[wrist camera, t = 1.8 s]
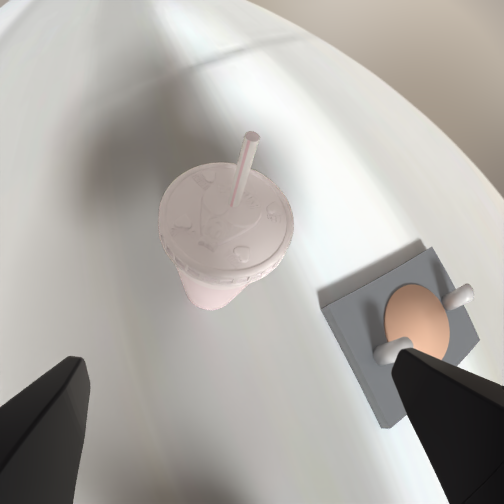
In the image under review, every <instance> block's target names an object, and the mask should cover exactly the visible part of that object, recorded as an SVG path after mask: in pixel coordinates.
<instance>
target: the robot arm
mask: <svg viewBox="0 0 504 504" xmlns="http://www.w3.org/2000/svg"><path fill="white" fill-rule="evenodd" d="M391 376H392V379H393V381H394V384H395V386H396V389H397V391H398V394H399V396H400V399H401V401H402V404H403V406H404V409H405V411H406V414H407V416H408V418H409V420H410V422H411V424H412V426H413V428H414V430H415V432H416V434H417V436H418V438H419V440H420V442H421V444H422V446H423V448H424V450H425V452H426V454H427V456H428V458H429V460H430V462H431V465H432V467H433V469H434V471H435V473H436V475H437V477H438V479H439V482H440V484H441V486H442V488H443V490H444V493H445V495H446V497H447V499H448V502H449V504H504V386H501V385H500V384H497V383H495V382H492V381H490V380H487V379H485V378H483V377H480V376H478V375H475V374H473V373H471V372H468V371H466V370H464V369H461V368H459V367H456V366H454V365H452V364H449V363H447V362H445V361H442V360H440V359H438V358H435V357H433V356H431V355H428V354H426V353H424V352H421V351H419V350H417V349H415V348H404V349H401V350H400V351H399V353H398V355H397V357H396V360H395V362H394V365H393V367H392V370H391ZM89 395H90V380H89V376H88V372H87V368H86V363H85V361H84V359H83V358H82V357H75V356H68V357H67V358H65V359H64V360H63V361H61V362H60V363H58V364H57V365H56V366H54V367H53V368H52V369H50V370H49V371H48V372H46V373H45V374H44V375H42V376H41V377H40V378H38V379H37V380H36V381H34V382H33V383H32V384H30V385H29V386H28V387H26V388H25V389H24V390H22V391H21V392H20V393H18V394H17V395H16V396H14V397H13V398H12V399H10V400H9V401H8V402H6V403H5V404H4V405H2V406H1V407H0V504H73V499H74V492H75V486H76V480H77V474H78V469H79V463H80V458H81V453H82V448H83V444H84V438H85V430H86V420H87V411H88V403H89Z"/></svg>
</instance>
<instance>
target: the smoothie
mask: <svg viewBox="0 0 504 504" xmlns="http://www.w3.org/2000/svg"><path fill="white" fill-rule="evenodd" d="M259 140H260V136H259V135H258V134H257V133H256V132H252V131H249V132H246V133H245V136H244V140H243V144H242V147H241V151H240V155H239V159H238V163H237V164H234V163H225V162H217V163H208V164H203V165H200V166H196V167H194V168H191V169H189V170H187V171H186V172H184V173H182V174H181V175H180V176H178V177H177V178H176V179H175V180H174V181H173V182H172V183H171V184H170V185H169V187H168V188H167V189H166V191H165V193H164V195H163V197H162V199H161V203H160V207H159V219H158V229H159V238H160V241H161V243H162V245H163V248H164V250H165V253H166V254H167V255H168V257H169V258H170V259H171V260H172V262H173V263H174V264H175V265H176V267H177V270H178V273H179V275H180V278H181V281H182V284H183V286H184V289H185V292H186V294H187V297H188V298H189V300H190V301H191V302H192V303H193V304H194V305H196V306H197V307H199V308H202V309H205V310H217V309H220V308H222V307H224V306H226V305H227V304H228V303H229V302H230V301H231V300H232V299H233V298H235V297H236V296H237V295H238V294H239V293H240V292H241V291H242V290H243V289H244V288H245V287H246V286H247V285H248V284H250V283H252V282H254V281H257V280H259V279H261V278H264V277H265V276H266V275H267V274H269V273H270V272H271V271H272V270H274V269H275V268H276V267H277V266H278V264H279V263H280V261H281V260H282V258H283V257H284V255H285V254H286V250H287V249H288V247H289V245H290V242H291V239H292V235H293V229H294V222H293V215H292V211H291V207H290V205H289V203H288V201H287V199H286V197H285V195H284V194H283V192H282V191H281V190H280V189H279V187H278V186H277V185H276V184H275V183H274V182H272V181H271V180H270V179H269V178H267V177H266V176H265V175H263V174H261V173H260V172H258V171H256V170H254V169H251V165H252V162H253V159H254V156H255V152H256V149H257V146H258V143H259Z"/></svg>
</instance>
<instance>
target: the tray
mask: <svg viewBox="0 0 504 504" xmlns="http://www.w3.org/2000/svg"><path fill="white" fill-rule="evenodd" d="M473 299H474V291H473V288H472V287H471V285H469V284H465V285H463V286H461V287H459V288H457V289H455V287H454V285H453V283H452V281H451V279H450V278H449V276H448V274H447V272H446V270H445V268H444V267H443V265H442V263H441V261H440V260H439V258H438V256H437V254H436V253H435V251H434V249H433V248H432V247H430V248H429V249H427V250H426V251H424V252H422V253H421V254H419V255H417V256H416V257H414V258H412V259H411V260H409V261H407V262H405V263H404V264H402V265H400V266H399V267H397V268H395V269H393V270H392V271H390V272H388V273H386V274H385V275H383V276H381V277H379V278H377V279H376V280H374V281H372V282H370V283H368V284H367V285H365V286H363V287H361V288H359V289H357V290H356V291H354V292H352V293H350V294H348V295H346V296H344V297H342V298H340V299H339V300H337V301H335V302H333V303H331V304H329V305H327V306H326V307H324V308H323V309H321V311H322V313H323V314H324V316H325V318H326V320H327V322H328V324H329V326H330V328H331V330H332V331H333V333H334V335H335V337H336V339H337V341H338V343H339V345H340V347H341V349H342V351H343V353H344V355H345V356H346V358H347V360H348V362H349V364H350V366H351V368H352V370H353V372H354V374H355V376H356V378H357V380H358V382H359V384H360V386H361V388H362V390H363V392H364V394H365V396H366V398H367V400H368V402H369V404H370V406H371V408H372V410H373V412H374V414H375V416H376V418H377V420H378V422H379V424H380V426H381V428H391V427H393V426H394V425H395V424H396V423H397V422H399V421H400V420H401V419H402V418H403V417H404V416H406V415H407V414H406V411H405V409H404V406H403V404H402V401H401V399H400V396H399V394H398V391H397V389H396V386H395V384H394V381H393V379H392V376H391V370H392V367H393V365H394V362H395V360H396V357H397V355H398V353H399V351H400V350H401V349H404V348H415V349H417V350H419V351H421V352H424V353H426V354H428V355H431V356H433V357H435V358H438V359H440V360H442V361H445V362H447V363H449V364H452V365H454V366H456V367H457V366H458V364H459V363H460V362H461V361H462V360H463V359H464V358H465V357H466V356H467V354H468V353H469V352H470V351H471V350H472V349H473V348H474V346H475V345H476V344H477V343H478V342H479V341H480V339H479V337H478V335H477V332H476V330H475V328H474V326H473V324H472V321H471V319H470V317H469V315H468V313H467V311H466V309H465V307H464V304H466V303H468V302H470V301H472V300H473Z"/></svg>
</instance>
